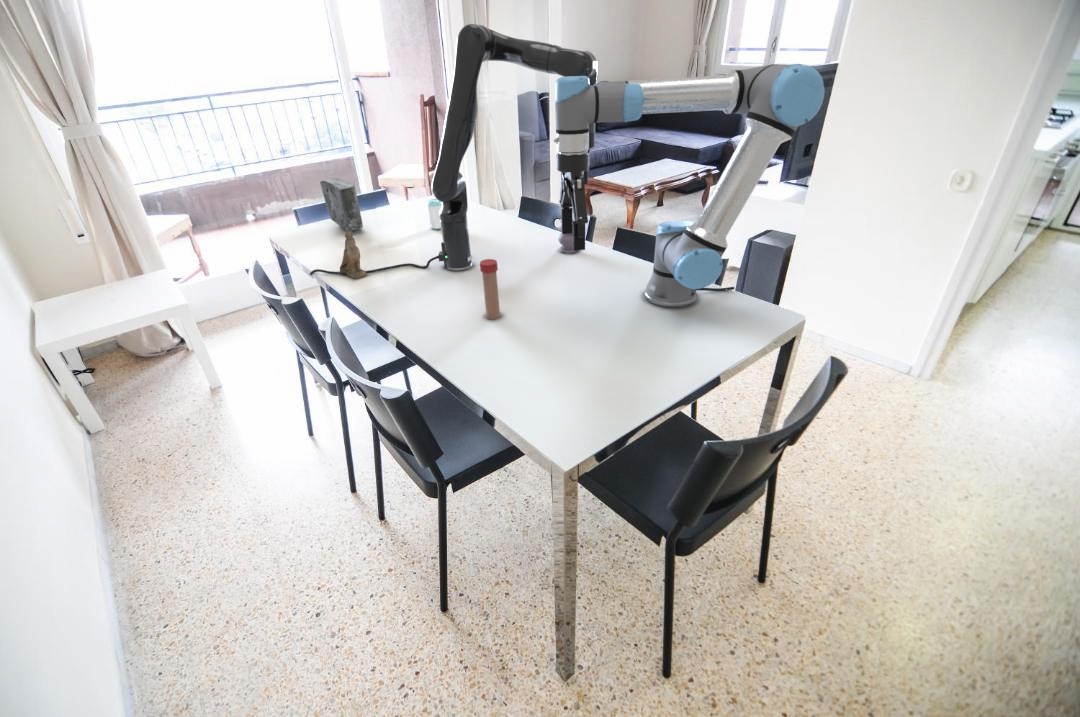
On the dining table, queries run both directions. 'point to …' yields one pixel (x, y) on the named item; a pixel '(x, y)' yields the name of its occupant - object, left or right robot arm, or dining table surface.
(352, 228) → the concrete block
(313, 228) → the dining table surface
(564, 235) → the mauve bulbous figurine
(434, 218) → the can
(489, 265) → the lid
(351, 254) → the brown carved statuette
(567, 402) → the dining table surface
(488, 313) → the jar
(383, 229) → the dining table surface
